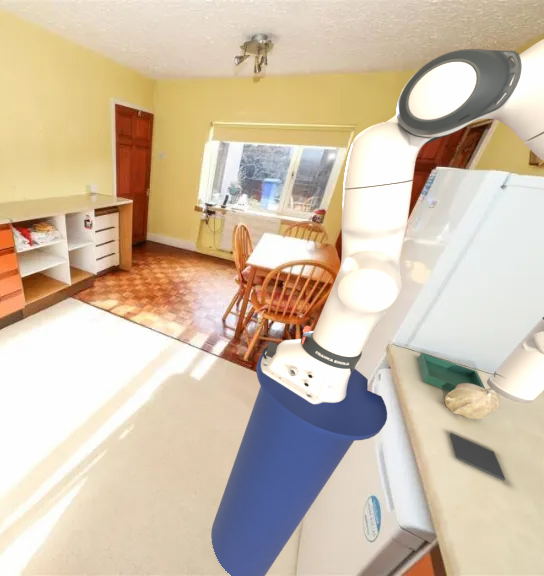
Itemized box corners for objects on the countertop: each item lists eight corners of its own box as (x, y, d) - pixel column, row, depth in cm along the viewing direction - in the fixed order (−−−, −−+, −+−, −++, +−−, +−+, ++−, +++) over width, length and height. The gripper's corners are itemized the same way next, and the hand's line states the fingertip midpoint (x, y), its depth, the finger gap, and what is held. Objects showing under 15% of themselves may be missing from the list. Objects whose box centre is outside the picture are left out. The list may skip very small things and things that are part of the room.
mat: (456, 458, 57) (458, 457, 57) (449, 434, 62) (450, 432, 62) (504, 480, 54) (505, 479, 53) (492, 453, 59) (493, 451, 58)
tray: (423, 381, 77) (427, 375, 76) (417, 358, 86) (421, 352, 85) (484, 405, 71) (490, 398, 70) (471, 377, 80) (476, 371, 79)
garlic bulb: (465, 414, 70) (502, 390, 66) (484, 437, 63) (526, 411, 59) (427, 390, 73) (460, 366, 69) (441, 409, 66) (479, 383, 62)
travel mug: (478, 383, 58) (547, 303, 48) (496, 377, 60) (565, 300, 50) (519, 407, 52) (605, 323, 43) (537, 400, 54) (623, 318, 45)
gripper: (730, 319, 40) (582, 331, 53) (613, 315, 38) (490, 329, 51) (757, 362, 38) (597, 365, 51) (636, 361, 36) (503, 363, 50)
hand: (543, 347), depth 51 cm, fingers closed on travel mug, 6 cm apart
